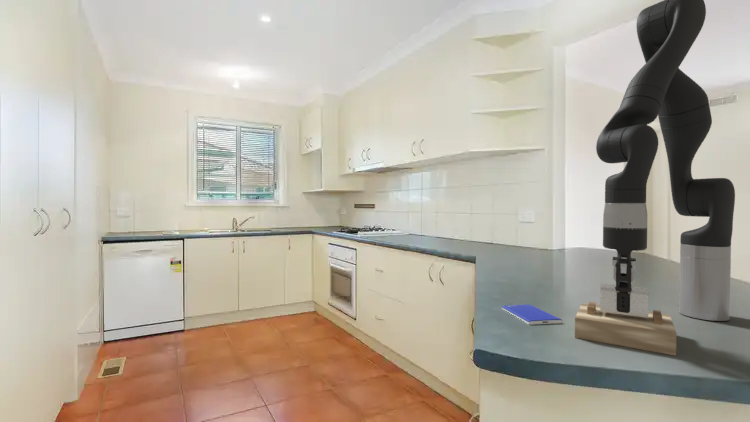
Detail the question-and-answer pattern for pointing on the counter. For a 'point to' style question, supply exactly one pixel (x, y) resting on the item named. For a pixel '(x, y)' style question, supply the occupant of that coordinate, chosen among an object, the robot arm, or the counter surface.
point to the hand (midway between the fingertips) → (623, 308)
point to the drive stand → (626, 329)
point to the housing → (637, 300)
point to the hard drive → (531, 314)
